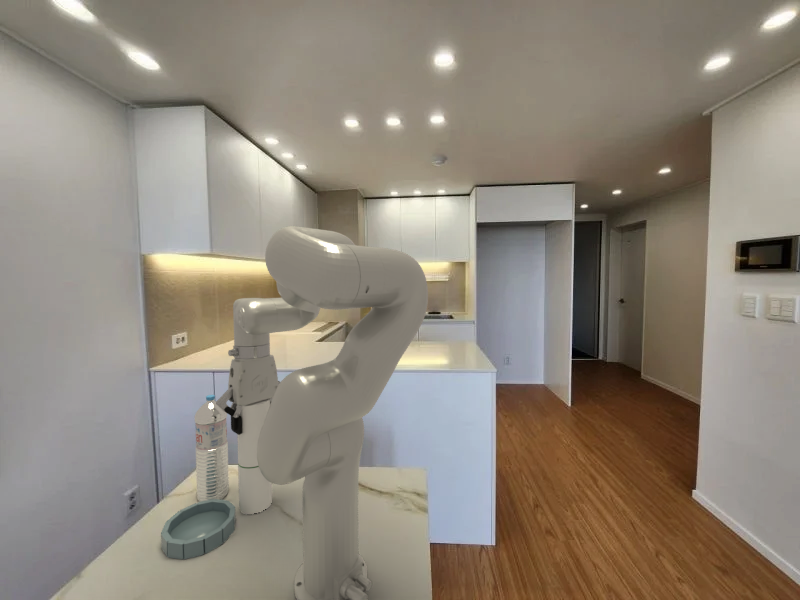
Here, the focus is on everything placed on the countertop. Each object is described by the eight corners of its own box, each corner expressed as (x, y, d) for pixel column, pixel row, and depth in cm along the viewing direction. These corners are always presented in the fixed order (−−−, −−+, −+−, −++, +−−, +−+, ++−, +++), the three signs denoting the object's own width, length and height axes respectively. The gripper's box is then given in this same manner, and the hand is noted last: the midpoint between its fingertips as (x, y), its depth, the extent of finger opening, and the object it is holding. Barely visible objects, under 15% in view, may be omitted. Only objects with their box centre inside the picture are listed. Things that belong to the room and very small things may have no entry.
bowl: (246, 530, 72) (246, 516, 71) (176, 570, 62) (175, 555, 61) (219, 504, 80) (219, 492, 80) (153, 536, 70) (153, 522, 70)
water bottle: (200, 490, 85) (197, 393, 84) (230, 484, 87) (228, 389, 86) (194, 507, 79) (190, 402, 77) (227, 501, 81) (224, 398, 80)
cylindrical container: (277, 495, 83) (275, 395, 82) (262, 515, 76) (260, 406, 75) (249, 493, 84) (247, 394, 82) (232, 513, 77) (229, 405, 75)
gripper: (220, 360, 69) (222, 445, 70) (294, 347, 82) (296, 419, 83) (205, 355, 73) (207, 435, 74) (277, 344, 87) (279, 411, 88)
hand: (254, 426), depth 79 cm, fingers closed on cylindrical container, 7 cm apart
